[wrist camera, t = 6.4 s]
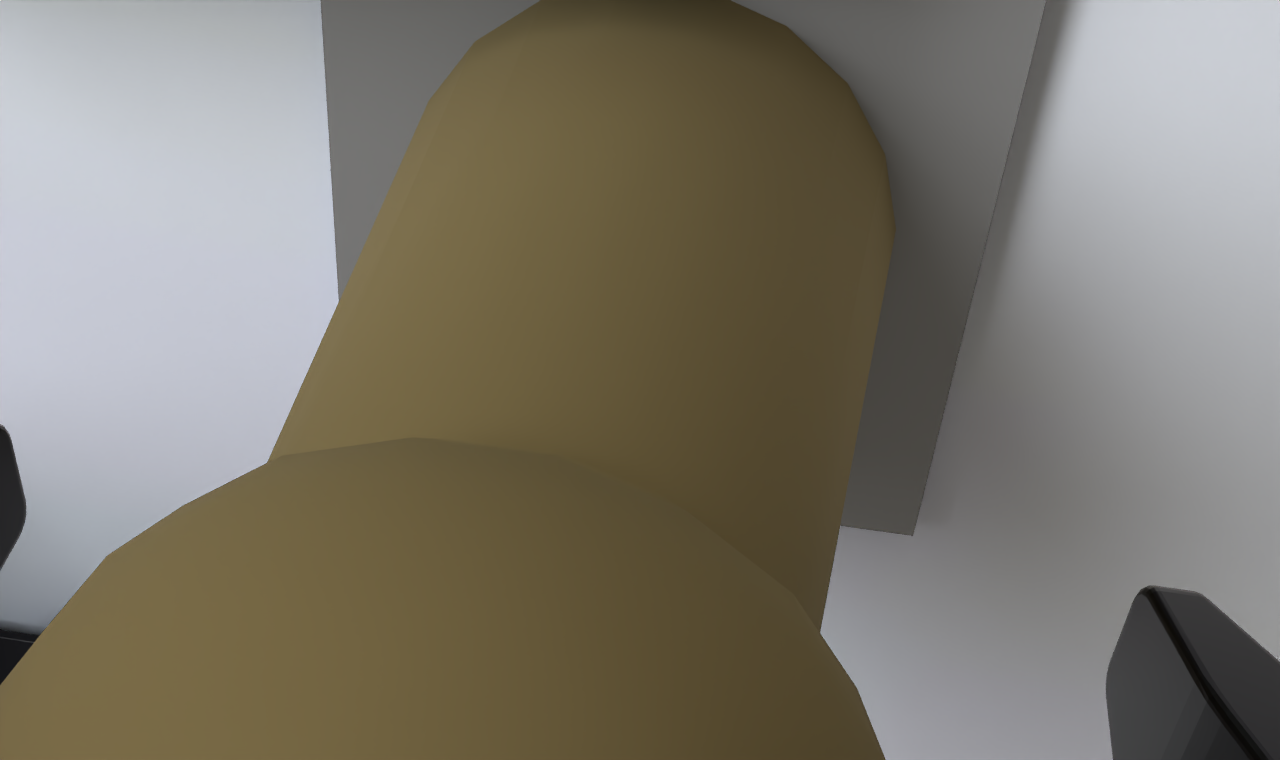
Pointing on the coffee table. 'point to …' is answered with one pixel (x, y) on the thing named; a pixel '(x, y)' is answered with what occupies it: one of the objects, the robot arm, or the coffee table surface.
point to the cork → (536, 438)
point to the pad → (895, 109)
